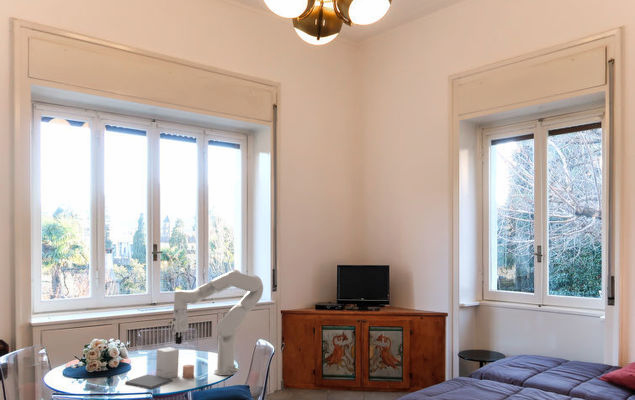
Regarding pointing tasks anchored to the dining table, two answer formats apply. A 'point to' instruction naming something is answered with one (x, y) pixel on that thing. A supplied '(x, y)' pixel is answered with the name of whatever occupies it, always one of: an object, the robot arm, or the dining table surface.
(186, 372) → the tan small cube
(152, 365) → the dining table surface
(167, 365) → the supplement box
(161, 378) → the board
